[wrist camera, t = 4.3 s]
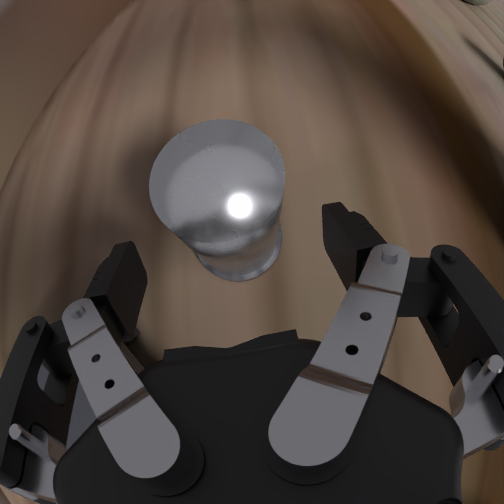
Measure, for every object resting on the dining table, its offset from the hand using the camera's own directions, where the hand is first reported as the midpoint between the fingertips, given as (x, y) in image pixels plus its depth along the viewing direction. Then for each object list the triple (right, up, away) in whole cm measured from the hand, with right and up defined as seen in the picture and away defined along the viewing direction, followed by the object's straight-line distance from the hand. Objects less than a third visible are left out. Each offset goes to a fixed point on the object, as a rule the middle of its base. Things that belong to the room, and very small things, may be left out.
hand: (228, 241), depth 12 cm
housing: (0, 0, +8) cm, 7 cm away
